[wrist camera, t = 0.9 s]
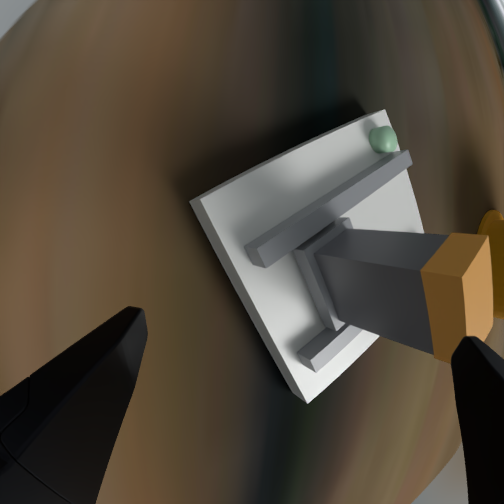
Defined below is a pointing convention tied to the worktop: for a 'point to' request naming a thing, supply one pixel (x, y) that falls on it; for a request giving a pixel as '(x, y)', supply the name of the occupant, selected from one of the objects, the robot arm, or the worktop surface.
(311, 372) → the white rail base plate
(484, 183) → the worktop surface
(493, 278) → the spool
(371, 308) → the breaker handle
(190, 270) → the worktop surface
